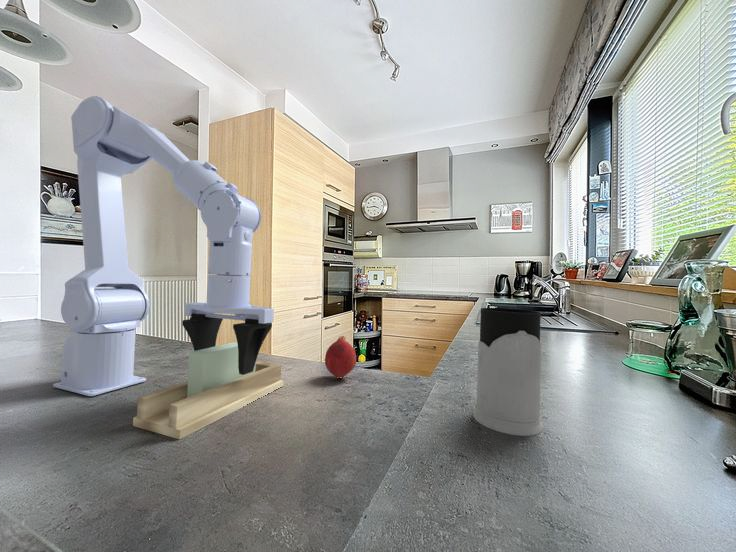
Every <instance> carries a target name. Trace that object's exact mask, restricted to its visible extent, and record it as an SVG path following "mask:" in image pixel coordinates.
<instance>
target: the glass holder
mask: <svg viewBox="0 0 736 552" xmlns="http://www.w3.org/2000/svg"><path fill="white" fill-rule="evenodd" d="M541 314H542V313H541V311H538V310H530V309H521V308H506V307H481V308H480V322H479V323H480V327H479V329H480V330H479V340H478V343H477V344H478V345H477V347H478V348H477V349H478V351H477V352H478V353H477V377H476V378H477V379H476V380H477V381H476V383H477V385H476V405H475V408H474V409H473V412H472V417H473V418H474V420H475V421H476V422H478V423H479V424H480V425H482V426H484V427H485V428H488V429H490V430H492V431H496V432H498V433H502V434H507V435H512V436H521V437H529V436H536V435H539V434H541V433H542V432H543V430H544V425H543V423H542V421H541V417H540V409H541V376H542V375H541V373H542V371H541V370H542V369H541V368H542V343H541V316H542V315H541Z"/></svg>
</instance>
